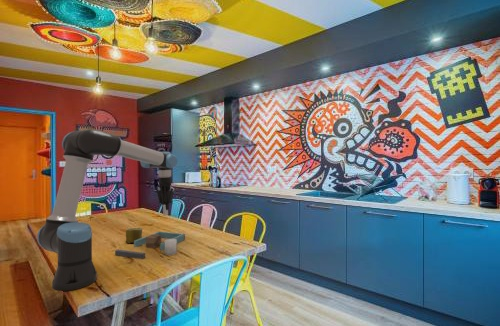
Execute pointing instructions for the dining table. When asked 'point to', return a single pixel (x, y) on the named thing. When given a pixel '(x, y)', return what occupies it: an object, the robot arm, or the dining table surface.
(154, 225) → the dining table surface
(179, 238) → the teal u-shaped frame
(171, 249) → the white rounded capsule
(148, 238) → the walnut block
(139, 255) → the bar
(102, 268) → the dining table surface
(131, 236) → the mug
